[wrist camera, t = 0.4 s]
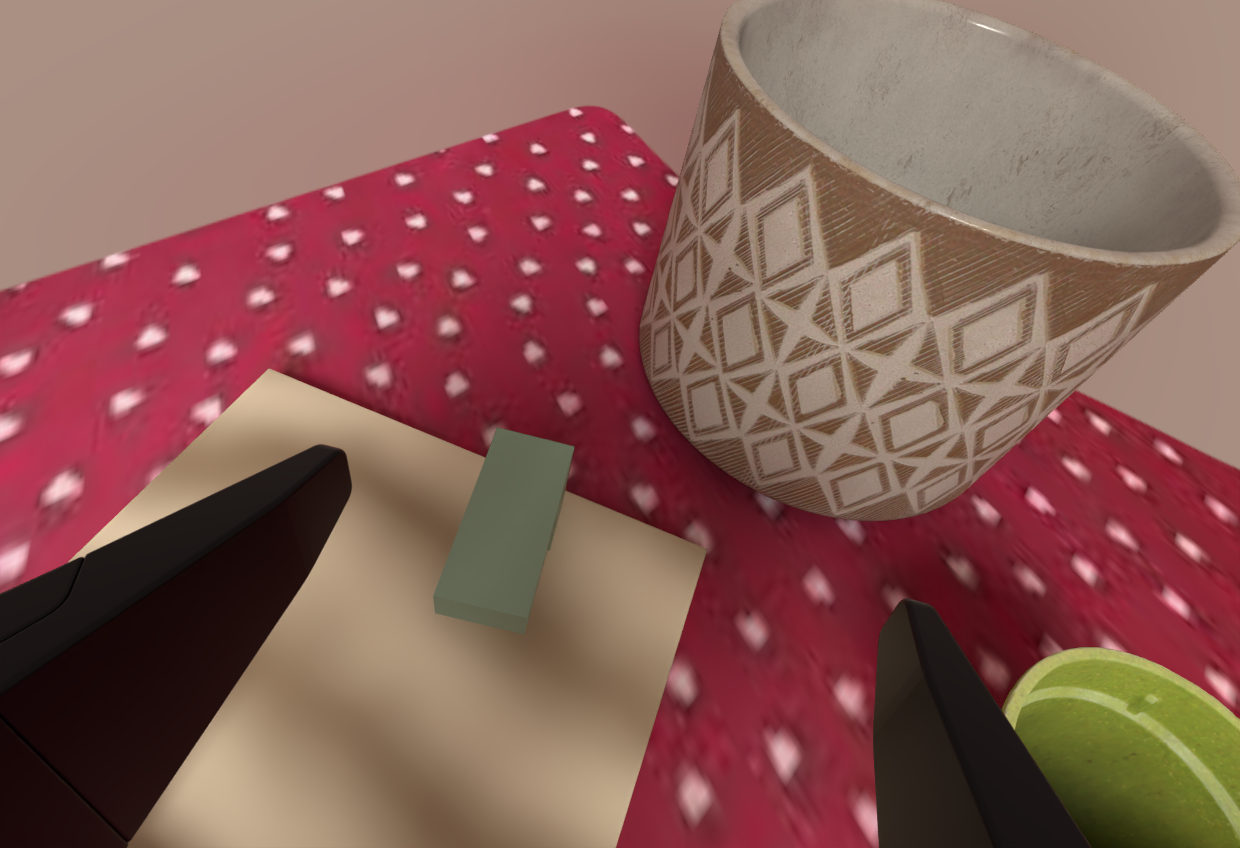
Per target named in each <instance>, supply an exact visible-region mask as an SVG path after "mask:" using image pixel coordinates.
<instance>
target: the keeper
mask: <svg viewBox="0 0 1240 848" xmlns="http://www.w3.org/2000/svg"><path fill="white" fill-rule="evenodd" d="M573 452H574V446H570V445H566V444H562V443H558V442H554V441H550V440H546V439H542V438H538V437H534V436H530V435H526V434H522V433H518V432H514V431H510V430H506V429H502V428H498V427H497V429H496V432H495V435H494V437H493V440H492V442H491V445H490V448H489V450H488V453H487V456H486V458H485V461H484V463H483V466H482V469H481V471H480V474H479V477H478V479H477V482H476V485H475V487H474V490H473V492H472V495H471V498H470V500H469V503H468V506H467V508H466V511H465V513H464V516H463V519H462V521H461V524H460V527H459V529H458V532H457V535H456V537H455V540H454V542H453V545H452V548H451V550H450V553H449V556H448V558H447V561H446V563H445V566H444V569H443V571H442V574H441V577H440V579H439V582H438V585H437V587H436V590H435V592H434V595H433V599H434V608H435V613H436V614H440V615H444V616H448V617H453V618H457V619H461V620H465V621H469V622H474V623H478V624H482V625H486V626H490V627H494V628H499V629H503V630H507V631H511V632H515V633H519V634H524V635H525V631H526V627H527V624H528V620H529V616H530V613H531V609H532V605H533V602H534V598H535V594H536V591H537V587H538V583H539V580H540V576H541V572H542V569H543V565H544V561H545V558H546V554H547V550H548V551H550V548H551V544H552V540H553V537H554V533H555V529H556V525H557V522H558V518H559V514H560V511H561V507H562V503H563V499H564V494H565V490H566V485H567V480H568V475H569V471H570V466H571V461H572V456H573Z"/></svg>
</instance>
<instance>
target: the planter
mask: <svg viewBox="0 0 1240 848" xmlns="http://www.w3.org/2000/svg"><path fill="white" fill-rule="evenodd" d="M1239 241H1240V181H1239V179H1238V177H1237V175H1236V174H1235V172H1234V171H1233V169H1232V168H1231V167H1230V165H1229V164H1228V162H1227V161H1226V160H1225V159H1224V158H1223V156H1222V155H1221V154H1220V153H1219V152H1218V151H1217V150H1216V148H1215V147H1214V146H1213V145H1212V144H1211V143H1210V142H1209V141H1208V140H1207V139H1206V138H1205V137H1204V136H1203V135H1201V134H1200V133H1199V132H1198V131H1197V130H1196V129H1195V128H1194V127H1192V126H1191V125H1190V124H1189V123H1188V122H1186V121H1185V120H1184V119H1183V118H1182V117H1180V116H1179V115H1178V114H1177V113H1175V112H1174V111H1173V110H1171V109H1170V108H1169V107H1167V106H1166V105H1165V104H1163V103H1162V102H1160V101H1159V100H1157V99H1156V98H1154V97H1153V96H1152V95H1150V94H1149V93H1147V92H1145V91H1143V90H1142V89H1141V88H1139V87H1138V86H1136V85H1134V84H1133V83H1131V82H1130V81H1128V80H1126V79H1125V78H1123V77H1121V76H1120V75H1118V74H1116V73H1114V72H1113V71H1111V70H1109V69H1107V68H1106V67H1104V66H1102V65H1100V64H1098V63H1096V62H1094V61H1093V60H1091V59H1089V58H1087V57H1085V56H1083V55H1081V54H1079V53H1077V52H1075V51H1073V50H1071V49H1068V48H1067V47H1064V46H1062V45H1060V44H1058V43H1056V42H1054V41H1051V40H1049V39H1047V38H1045V37H1042V36H1040V35H1038V34H1035V33H1033V32H1030V31H1028V30H1026V29H1023V28H1021V27H1018V26H1016V25H1013V24H1010V23H1008V22H1005V21H1002V20H1000V19H997V18H994V17H991V16H989V15H986V14H983V13H980V12H977V11H974V10H971V9H968V8H965V7H961V6H958V5H955V4H951V3H948V2H944V1H941V0H737V1H736V2H735V3H734V4H733V5H732V6H731V7H730V8H729V9H728V11H727V12H726V14H725V16H724V18H723V20H722V24H721V28H720V31H719V35H718V38H717V42H716V46H715V49H714V53H713V57H712V60H711V64H710V67H709V71H708V75H707V78H706V82H705V86H704V89H703V93H702V97H701V100H700V104H699V108H698V111H697V115H696V119H695V123H694V126H693V130H692V133H691V137H690V141H689V144H688V148H687V152H686V155H685V159H684V162H683V166H682V170H681V173H680V177H679V181H678V184H677V188H676V192H675V195H674V199H673V203H672V206H671V210H670V214H669V217H668V221H667V224H666V228H665V232H664V235H663V239H662V243H661V246H660V250H659V254H658V257H657V261H656V265H655V268H654V272H653V276H652V279H651V283H650V287H649V290H648V294H647V298H646V301H645V305H644V309H643V313H642V317H641V322H640V352H641V357H642V362H643V366H644V369H645V373H646V376H647V379H648V381H649V384H650V386H651V388H652V390H653V392H654V394H655V396H656V398H657V400H658V402H659V403H660V405H661V407H662V408H663V410H664V411H665V413H666V414H667V416H668V417H669V418H670V420H671V421H672V423H673V424H674V425H675V426H676V427H677V429H678V430H679V431H680V432H681V433H682V435H683V436H684V437H685V438H686V439H687V440H688V441H689V442H690V443H691V444H692V445H693V446H694V447H695V448H696V449H697V450H698V451H699V452H700V453H702V454H703V455H704V456H705V457H706V458H707V459H709V460H710V461H711V462H712V463H714V464H715V465H716V466H717V467H719V468H720V469H722V470H723V471H724V472H726V473H727V474H729V475H730V476H732V477H733V478H735V479H736V480H738V481H740V482H741V483H743V484H744V485H746V486H748V487H750V488H752V489H754V490H755V491H757V492H759V493H761V494H763V495H765V496H768V497H770V498H772V499H774V500H776V501H779V502H781V503H784V504H786V505H789V506H792V507H795V508H798V509H801V510H804V511H807V512H811V513H815V514H819V515H823V516H829V517H834V518H840V519H848V520H858V521H887V520H896V519H903V518H908V517H913V516H916V515H920V514H923V513H927V512H929V511H932V510H934V509H937V508H939V507H941V506H943V505H945V504H947V503H948V502H950V501H952V500H953V499H955V498H956V497H958V496H959V495H961V494H962V493H963V492H964V491H965V490H966V489H967V488H969V487H970V486H971V485H972V484H973V483H974V482H975V481H976V480H977V479H978V478H980V477H981V476H982V475H983V474H984V473H985V472H986V471H987V470H988V469H989V468H991V467H992V466H993V465H994V464H995V463H996V462H997V461H998V460H999V459H1000V458H1002V457H1003V456H1004V455H1005V454H1006V453H1007V452H1008V451H1009V450H1010V449H1011V448H1012V447H1014V446H1015V445H1016V444H1017V443H1018V442H1019V441H1020V440H1021V439H1022V438H1023V437H1025V436H1026V435H1027V434H1028V433H1029V432H1030V431H1031V430H1032V429H1033V428H1034V427H1036V426H1037V425H1038V424H1039V423H1040V422H1041V421H1042V420H1043V419H1044V418H1045V417H1047V416H1048V415H1049V414H1050V413H1051V412H1052V411H1053V410H1054V409H1055V408H1056V407H1058V406H1059V405H1060V404H1061V403H1062V402H1063V401H1064V400H1065V399H1066V398H1067V397H1069V396H1070V395H1071V394H1072V393H1073V392H1074V391H1075V390H1076V389H1077V388H1078V387H1079V386H1080V385H1082V384H1083V383H1084V382H1085V381H1086V380H1087V379H1088V378H1089V377H1090V376H1092V375H1093V374H1094V373H1095V372H1096V371H1097V370H1098V369H1099V368H1100V367H1101V366H1102V365H1104V364H1105V363H1106V362H1107V361H1108V360H1109V359H1110V358H1111V357H1112V356H1114V355H1115V354H1116V353H1117V352H1118V351H1119V350H1120V349H1121V348H1122V347H1123V346H1125V344H1127V343H1128V342H1129V341H1130V340H1131V339H1132V338H1133V337H1134V336H1136V334H1138V333H1139V332H1140V331H1141V330H1142V329H1143V328H1144V327H1145V326H1146V325H1147V324H1149V323H1150V322H1151V321H1152V320H1153V319H1154V318H1155V317H1156V316H1157V315H1159V314H1160V312H1162V311H1163V310H1164V309H1165V308H1166V307H1167V306H1168V305H1170V304H1171V303H1172V302H1173V301H1174V300H1175V299H1176V298H1177V297H1178V296H1179V295H1181V294H1182V293H1183V292H1184V291H1185V290H1186V289H1187V288H1188V287H1189V286H1190V285H1192V284H1193V283H1194V282H1195V281H1196V280H1197V279H1198V278H1199V277H1200V276H1201V275H1202V274H1203V273H1205V272H1206V271H1207V270H1208V269H1209V268H1210V267H1211V266H1212V265H1213V264H1215V263H1216V262H1217V261H1218V260H1219V259H1220V258H1221V257H1222V256H1223V255H1225V253H1227V252H1228V250H1230V249H1231V248H1232V247H1233V246H1234V245H1235V244H1237V243H1238V242H1239Z"/></svg>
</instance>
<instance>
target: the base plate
mask: <svg viewBox="0 0 1240 848" xmlns="http://www.w3.org/2000/svg"><path fill="white" fill-rule="evenodd" d="M318 444H325V445H329V446H332V447H336V448H340V449H342V450H344V452H345V453H346V455H347V460H348V465H349V470H350V475H351V480H352V492H351V495H350V498H349V500H348V502H347V504H346V506H345V508H344V510H343V511H342V513H341V515H340V517H339V519H338V521H337V523H336V525H335V527H334V529H333V531H332V533H331V534H330V536H329V538H328V540H327V542H326V544H325V546H324V548H323V550H322V552H321V554H320V556H319V557H318V559H317V561H316V563H315V565H314V567H313V569H312V570H311V572H310V574H309V576H308V577H307V579H306V581H305V582H304V584H303V585H302V587H301V588H300V590H299V591H298V593H297V594H296V596H295V597H294V599H293V600H292V602H291V603H290V605H289V606H288V608H287V609H286V611H285V612H284V614H283V615H282V617H281V618H280V620H279V621H278V623H277V624H276V626H275V627H274V629H273V630H272V632H271V633H270V635H269V636H268V638H267V639H266V641H265V642H264V644H263V645H262V647H261V648H260V650H259V651H258V652H257V654H256V655H255V657H254V658H253V660H252V661H251V663H250V664H249V666H248V667H247V669H246V670H245V672H244V673H243V675H242V676H241V678H240V679H239V681H238V682H237V684H236V685H235V687H234V688H233V690H232V691H231V693H230V694H229V696H228V697H227V699H226V700H225V702H224V703H223V705H222V706H221V708H220V709H219V711H218V712H217V714H216V715H215V717H214V718H213V720H212V721H211V722H210V724H209V725H208V727H207V728H206V730H205V731H204V733H203V734H202V736H201V737H200V739H199V740H198V742H197V743H196V745H195V746H194V748H193V749H192V751H191V752H190V754H189V755H188V757H187V758H186V760H185V761H184V763H183V764H182V766H181V767H180V769H179V770H178V772H177V773H176V775H175V776H174V778H173V779H172V781H171V782H170V784H169V785H168V787H167V788H166V790H165V791H164V793H163V794H162V795H161V797H160V798H159V800H158V801H157V803H156V804H155V806H154V807H153V809H152V810H151V812H150V813H149V815H148V816H147V818H146V819H145V821H144V822H143V824H142V825H141V827H140V828H139V830H138V831H137V833H136V834H135V836H134V837H133V839H132V840H131V841H130V842H128V847H127V848H616V845H617V842H618V839H619V835H620V832H621V829H622V826H623V822H624V819H625V816H626V813H627V809H628V806H629V803H630V800H631V796H632V793H633V790H634V786H635V783H636V780H637V777H638V773H639V770H640V767H641V764H642V760H643V757H644V754H645V751H646V747H647V744H648V741H649V738H650V734H651V731H652V728H653V724H654V721H655V718H656V715H657V711H658V708H659V705H660V702H661V698H662V695H663V692H664V689H665V685H666V682H667V679H668V675H669V672H670V669H671V666H672V662H673V659H674V656H675V653H676V649H677V646H678V643H679V640H680V636H681V633H682V630H683V627H684V623H685V620H686V617H687V613H688V610H689V607H690V604H691V600H692V597H693V594H694V591H695V587H696V584H697V581H698V578H699V574H700V571H701V568H702V565H703V561H704V558H705V555H706V551H707V549H706V548H703V547H701V546H699V545H696V544H694V543H691V542H689V541H686V540H684V539H682V538H679V537H677V536H674V535H672V534H669V533H667V532H665V531H662V530H660V529H657V528H655V527H652V526H650V525H648V524H645V523H643V522H640V521H638V520H635V519H633V518H631V517H628V516H626V515H623V514H621V513H618V512H616V511H614V510H611V509H609V508H606V507H604V506H601V505H599V504H597V503H594V502H592V501H589V500H587V499H584V498H582V497H580V496H577V495H575V494H572V493H570V492H567V491H565V494H564V499H563V503H562V507H561V511H560V514H559V518H558V522H557V525H556V529H555V533H554V537H553V540H552V544H551V548H550V551H548V550H547V554H546V558H545V561H544V565H543V569H542V572H541V576H540V580H539V583H538V587H537V591H536V594H535V598H534V602H533V605H532V609H531V613H530V616H529V620H528V624H527V627H526V631H525V635H524V634H519V633H515V632H511V631H507V630H503V629H499V628H494V627H490V626H486V625H482V624H478V623H474V622H469V621H465V620H461V619H457V618H453V617H448V616H444V615H440V614H436V613H435V608H434V599H433V595H434V592H435V590H436V587H437V585H438V582H439V579H440V577H441V574H442V571H443V569H444V566H445V563H446V561H447V558H448V556H449V553H450V550H451V548H452V545H453V542H454V540H455V537H456V535H457V532H458V529H459V527H460V524H461V521H462V519H463V516H464V513H465V511H466V508H467V506H468V503H469V500H470V498H471V495H472V492H473V490H474V487H475V485H476V482H477V479H478V477H479V474H480V471H481V469H482V466H483V463H484V461H485V457H482V456H480V455H478V454H475V453H473V452H470V451H468V450H465V449H463V448H461V447H458V446H456V445H453V444H451V443H448V442H446V441H444V440H441V439H439V438H436V437H434V436H431V435H429V434H427V433H424V432H422V431H419V430H417V429H414V428H412V427H410V426H407V425H405V424H402V423H400V422H397V421H395V420H393V419H390V418H388V417H385V416H383V415H380V414H378V413H376V412H373V411H371V410H368V409H366V408H363V407H361V406H359V405H356V404H354V403H351V402H349V401H346V400H344V399H342V398H339V397H337V396H334V395H332V394H329V393H327V392H325V391H322V390H320V389H317V388H315V387H312V386H310V385H308V384H305V383H303V382H300V381H298V380H295V379H293V378H291V377H288V376H286V375H283V374H281V373H278V372H276V371H274V370H271V369H268V370H267V371H266V372H265V373H264V374H263V375H262V376H261V377H260V378H259V379H258V380H257V381H255V382H254V383H253V384H252V385H251V386H250V387H249V388H248V389H247V390H246V391H245V392H244V393H243V394H242V395H241V396H240V397H239V398H238V399H237V400H236V401H235V402H234V403H233V404H232V405H231V406H230V407H229V408H227V409H226V410H225V411H224V412H223V413H222V414H221V415H220V416H219V417H218V418H217V419H216V420H215V421H214V422H213V423H212V424H211V425H210V426H209V427H208V428H207V429H206V430H205V431H204V432H203V433H202V434H201V435H199V436H198V437H197V438H196V439H195V440H194V441H193V442H192V443H191V444H190V445H189V446H188V447H187V448H186V449H185V450H184V451H183V452H182V453H181V454H180V455H179V456H178V457H177V458H176V459H175V460H174V461H173V462H171V463H170V464H169V465H168V466H167V467H166V468H165V469H164V470H163V471H162V472H161V473H160V474H159V475H158V476H157V477H156V478H155V479H154V480H153V481H152V482H151V483H150V484H149V485H148V486H147V487H146V488H145V489H143V490H142V491H141V492H140V493H139V494H138V495H137V496H136V497H135V498H134V499H133V500H132V501H131V502H130V503H129V504H128V505H127V506H126V507H125V508H124V509H123V510H122V511H121V512H120V513H119V514H118V515H116V516H115V517H114V518H113V519H112V520H111V521H110V522H109V523H108V524H107V525H106V526H105V527H104V528H103V529H102V530H101V531H100V532H99V533H98V534H97V535H96V536H95V537H94V538H93V539H92V540H91V541H90V542H88V543H87V544H86V545H85V546H84V547H83V548H82V549H81V550H80V551H79V552H78V553H77V554H76V555H75V556H74V557H73V558H72V559H71V560H70V561H73V560H75V559H77V558H79V557H84V558H85V556H86V554H88V553H90V552H92V551H94V550H96V549H98V548H100V547H102V546H104V545H107V544H109V543H111V542H113V541H115V540H117V539H119V538H121V537H123V536H125V535H128V534H130V533H132V532H134V531H136V530H138V529H140V528H142V527H144V526H146V525H149V524H151V523H153V522H155V521H157V520H159V519H161V518H163V517H165V516H168V515H170V514H172V513H174V512H176V511H178V510H180V509H182V508H184V507H186V506H189V505H191V504H193V503H195V502H197V501H199V500H201V499H203V498H205V497H207V496H210V495H212V494H214V493H216V492H218V491H220V490H222V489H224V488H226V487H228V486H231V485H233V484H235V483H237V482H239V481H241V480H243V479H245V478H247V477H249V476H252V475H254V474H256V473H258V472H260V471H262V470H264V469H266V468H268V467H271V466H273V465H275V464H277V463H279V462H281V461H283V460H285V459H287V458H289V457H292V456H294V455H296V454H298V453H300V452H302V451H304V450H306V449H308V448H310V447H313V446H315V445H318ZM70 561H69V562H70Z"/></svg>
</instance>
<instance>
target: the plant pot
mask: <svg viewBox="0 0 1240 848" xmlns="http://www.w3.org/2000/svg"><path fill="white" fill-rule="evenodd" d="M1002 711H1003V713H1004V714H1005V716H1006V717H1007V719H1008V721H1009V722H1010V724H1011V725H1012V727H1013V728H1014V730H1015V731H1016V733H1017V734H1018V736H1019V737H1020V739H1021V740H1022V742H1023V743H1024V745H1025V746H1026V748H1027V750H1028V751H1029V753H1030V754H1031V756H1032V757H1033V759H1034V760H1035V762H1036V763H1037V765H1038V766H1039V768H1040V769H1041V771H1042V772H1043V774H1044V775H1045V777H1046V778H1047V780H1048V782H1049V783H1050V785H1051V786H1052V788H1053V789H1054V791H1055V792H1056V794H1057V795H1058V797H1059V798H1060V800H1061V801H1062V803H1063V804H1064V806H1065V807H1066V809H1067V810H1068V812H1069V814H1070V815H1071V817H1072V818H1073V820H1074V821H1075V823H1076V824H1077V826H1078V827H1079V829H1080V830H1081V832H1082V833H1083V835H1084V836H1085V838H1086V839H1087V841H1088V843H1089V844H1090V846H1091V847H1092V848H1240V719H1238V718H1237V717H1236V716H1235V715H1234V714H1233V713H1232V712H1231V711H1229V710H1228V709H1227V708H1226V707H1225V706H1224V705H1223V704H1221V703H1220V702H1219V701H1218V700H1217V699H1215V698H1214V697H1212V696H1211V695H1210V694H1208V693H1207V692H1205V691H1204V690H1202V689H1201V688H1200V687H1198V686H1196V685H1195V684H1193V683H1191V682H1190V681H1188V680H1186V679H1184V678H1183V677H1181V676H1179V675H1177V674H1176V673H1174V672H1172V671H1170V670H1168V669H1167V668H1165V667H1163V666H1161V665H1159V664H1156V663H1154V662H1152V661H1149V660H1147V659H1144V658H1141V657H1138V656H1135V655H1132V654H1129V653H1125V652H1121V651H1118V650H1113V649H1105V648H1095V647H1080V648H1073V649H1068V650H1063V651H1060V652H1057V653H1054V654H1052V655H1050V656H1048V657H1046V658H1044V659H1042V660H1040V661H1039V662H1037V663H1036V664H1035V665H1033V666H1032V667H1031V668H1029V669H1028V670H1027V671H1026V672H1025V673H1024V674H1023V675H1022V676H1021V677H1020V678H1019V680H1018V681H1017V682H1016V684H1015V685H1014V687H1013V688H1012V689H1011V691H1010V693H1009V694H1008V696H1007V698H1006V700H1005V703H1004V705H1003V707H1002Z"/></svg>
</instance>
